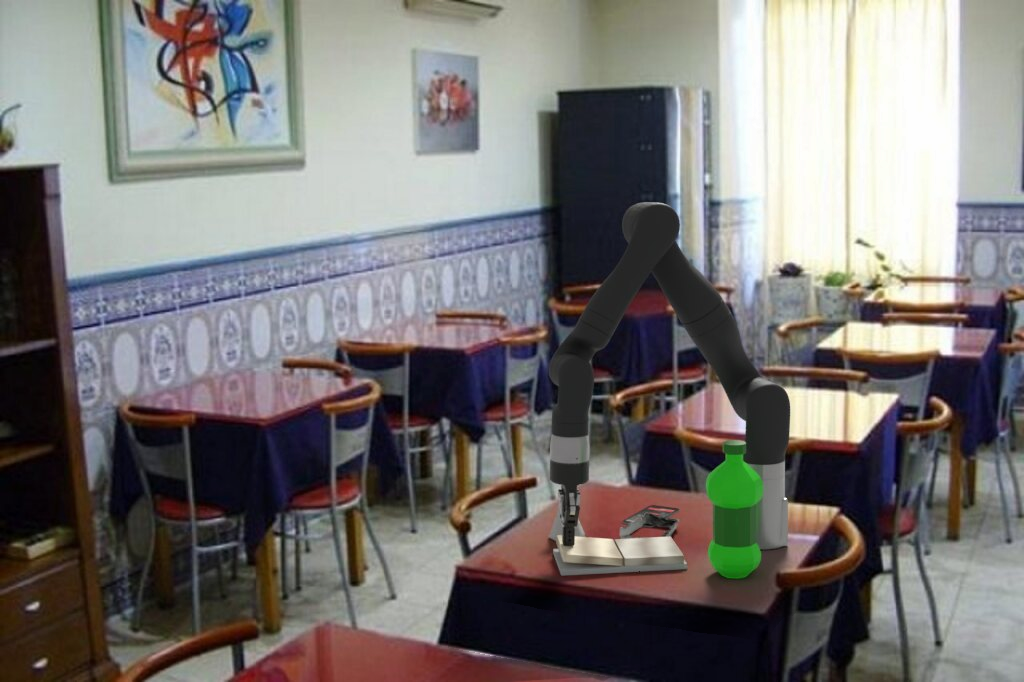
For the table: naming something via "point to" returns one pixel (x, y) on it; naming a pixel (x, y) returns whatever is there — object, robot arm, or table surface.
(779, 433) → the robot arm
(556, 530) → the flask
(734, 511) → the plastic bottle
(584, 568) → the underlay board
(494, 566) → the table surface
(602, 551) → the cream wavy square sheet
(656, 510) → the smartphone
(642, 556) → the laid plank
